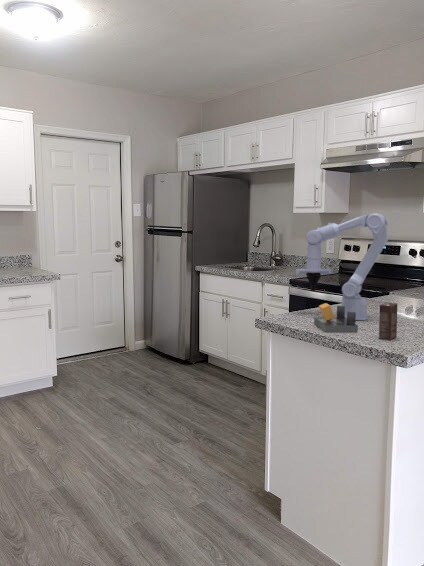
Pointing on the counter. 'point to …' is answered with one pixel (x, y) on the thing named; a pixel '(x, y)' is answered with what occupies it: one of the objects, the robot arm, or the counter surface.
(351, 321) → the post
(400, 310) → the counter surface
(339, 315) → the post
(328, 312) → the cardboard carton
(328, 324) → the grey flat block
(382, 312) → the box
